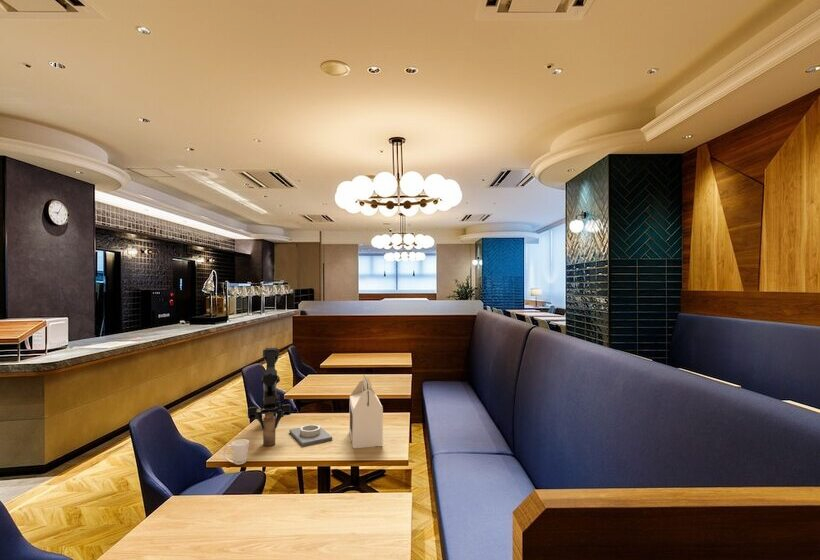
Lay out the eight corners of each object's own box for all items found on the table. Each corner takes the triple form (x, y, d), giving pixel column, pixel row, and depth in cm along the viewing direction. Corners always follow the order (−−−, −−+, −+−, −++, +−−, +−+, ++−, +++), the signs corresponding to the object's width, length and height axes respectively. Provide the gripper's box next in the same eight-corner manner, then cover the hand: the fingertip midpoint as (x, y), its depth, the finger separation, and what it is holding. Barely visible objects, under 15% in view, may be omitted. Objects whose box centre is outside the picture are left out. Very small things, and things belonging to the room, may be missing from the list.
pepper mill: (261, 442, 189) (262, 411, 189) (273, 440, 191) (273, 409, 191) (264, 446, 184) (264, 414, 184) (276, 444, 187) (276, 412, 187)
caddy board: (289, 432, 203) (289, 424, 203) (317, 427, 210) (317, 419, 210) (302, 446, 186) (302, 437, 186) (332, 440, 193) (332, 431, 193)
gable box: (382, 446, 186) (383, 383, 186) (353, 448, 183) (353, 385, 184) (376, 429, 208) (376, 373, 208) (349, 431, 205) (349, 374, 205)
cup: (246, 465, 166) (246, 445, 166) (220, 466, 165) (220, 446, 165) (251, 458, 173) (251, 438, 173) (226, 459, 172) (226, 439, 172)
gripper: (248, 389, 189) (246, 422, 178) (290, 386, 194) (291, 418, 184) (249, 402, 196) (247, 434, 186) (290, 399, 202) (290, 429, 191)
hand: (269, 428), depth 187 cm, fingers closed on pepper mill, 5 cm apart
